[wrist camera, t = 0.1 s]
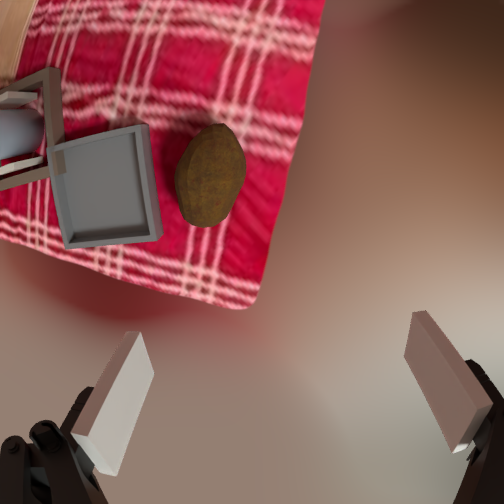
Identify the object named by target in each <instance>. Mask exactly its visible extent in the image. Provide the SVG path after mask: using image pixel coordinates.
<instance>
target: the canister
mask: <svg viewBox="0 0 504 504" xmlns="http://www.w3.org/2000/svg"><path fill="white" fill-rule="evenodd" d="M44 129H45V128H44V121H43V118H42V116H41V114H40V113H39V112H38V111H37V110H35V109H3V110H0V160H2V159H6V158H11V157H16V156H20V155H25V154H30V153H33V152H34V151H35V150H37V148H38V147H39V146H40V144H41V142H42V140H43V136H44Z"/></svg>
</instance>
